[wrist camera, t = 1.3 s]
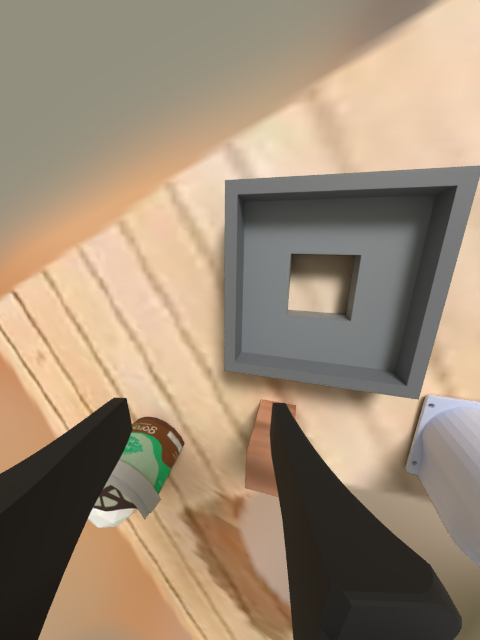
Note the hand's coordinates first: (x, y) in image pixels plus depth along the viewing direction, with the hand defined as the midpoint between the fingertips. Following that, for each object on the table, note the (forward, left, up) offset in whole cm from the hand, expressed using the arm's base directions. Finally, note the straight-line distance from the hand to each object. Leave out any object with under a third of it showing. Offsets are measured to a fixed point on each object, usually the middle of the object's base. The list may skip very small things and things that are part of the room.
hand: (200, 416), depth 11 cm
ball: (-26, +19, -15) cm, 35 cm away
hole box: (+5, -6, -15) cm, 17 cm away
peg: (-11, -3, -15) cm, 19 cm away
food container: (-17, +15, -15) cm, 27 cm away
